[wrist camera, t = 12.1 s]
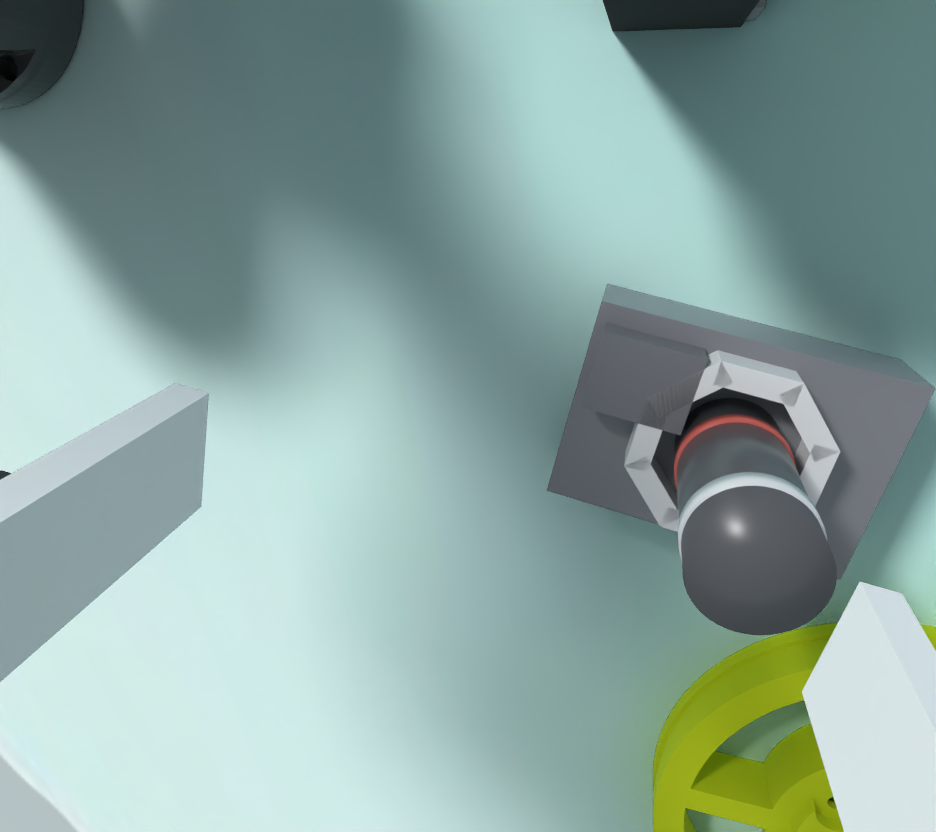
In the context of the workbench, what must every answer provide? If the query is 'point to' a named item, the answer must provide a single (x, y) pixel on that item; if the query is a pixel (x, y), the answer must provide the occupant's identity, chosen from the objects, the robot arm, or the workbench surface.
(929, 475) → the workbench surface
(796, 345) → the plate with octagonal ring
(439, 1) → the workbench surface
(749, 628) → the lens
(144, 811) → the workbench surface
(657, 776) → the pulley
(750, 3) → the electrical component
